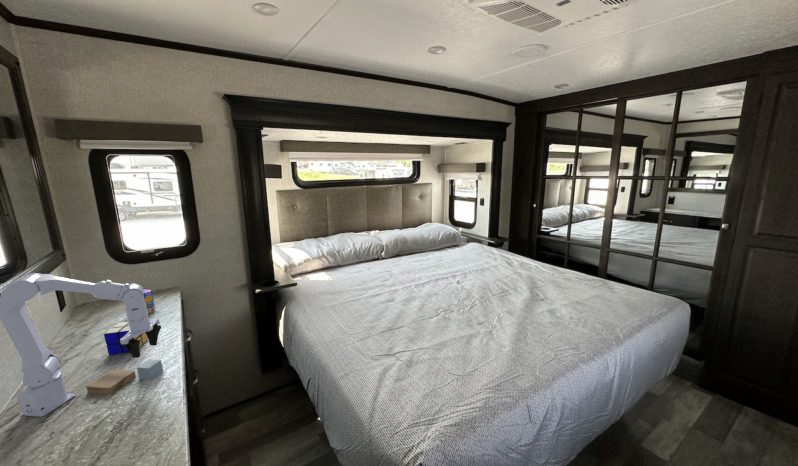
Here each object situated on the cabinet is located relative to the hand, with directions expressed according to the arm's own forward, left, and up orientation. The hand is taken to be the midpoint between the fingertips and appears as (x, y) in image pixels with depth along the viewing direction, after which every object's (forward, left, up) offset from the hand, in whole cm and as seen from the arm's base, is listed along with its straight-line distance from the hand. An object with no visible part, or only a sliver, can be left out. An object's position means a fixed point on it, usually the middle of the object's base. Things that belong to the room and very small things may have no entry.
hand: (145, 350), depth 114 cm
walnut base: (-7, +8, -10) cm, 14 cm away
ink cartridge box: (+44, +48, -10) cm, 66 cm away
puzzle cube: (+15, +25, -10) cm, 31 cm away
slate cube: (-1, -2, -10) cm, 10 cm away
